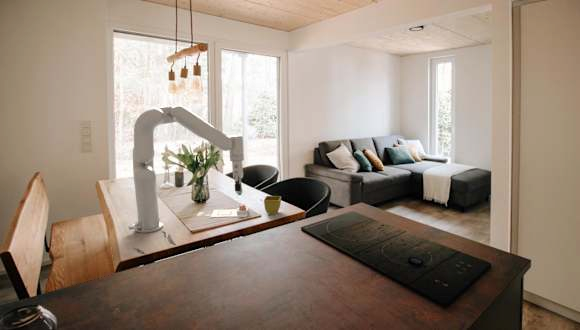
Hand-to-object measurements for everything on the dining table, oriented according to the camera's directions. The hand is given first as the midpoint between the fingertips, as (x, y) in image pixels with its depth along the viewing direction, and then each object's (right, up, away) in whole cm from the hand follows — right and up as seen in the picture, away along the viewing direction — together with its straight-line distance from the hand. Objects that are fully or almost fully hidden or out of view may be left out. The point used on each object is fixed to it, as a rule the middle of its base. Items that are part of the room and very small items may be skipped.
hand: (238, 189), depth 176 cm
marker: (+1, -3, +1) cm, 3 cm away
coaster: (-19, -14, +1) cm, 24 cm away
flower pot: (+19, -14, +3) cm, 24 cm away
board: (-5, -14, +2) cm, 15 cm away
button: (+2, -12, +2) cm, 12 cm away
